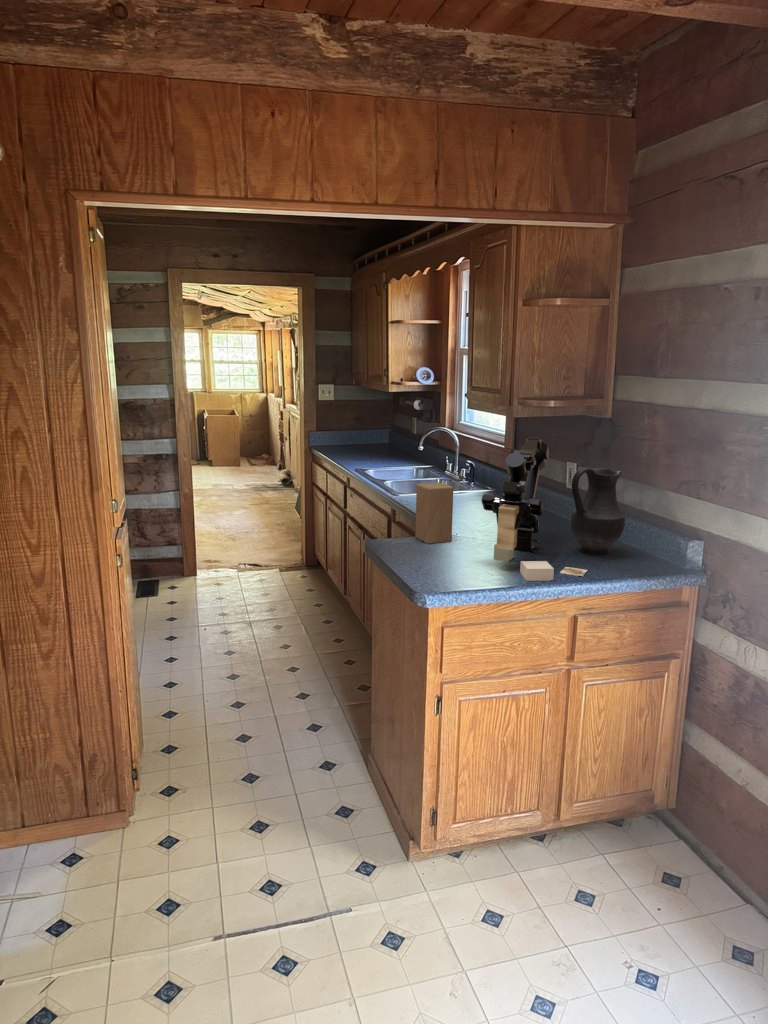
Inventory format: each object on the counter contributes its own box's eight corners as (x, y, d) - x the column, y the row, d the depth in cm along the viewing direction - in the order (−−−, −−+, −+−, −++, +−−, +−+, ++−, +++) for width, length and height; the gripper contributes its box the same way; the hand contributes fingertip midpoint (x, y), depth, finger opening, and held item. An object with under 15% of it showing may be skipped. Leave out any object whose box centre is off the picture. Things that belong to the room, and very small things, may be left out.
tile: (565, 567, 226) (565, 566, 226) (587, 571, 223) (587, 569, 223) (559, 573, 220) (559, 571, 220) (582, 577, 217) (582, 575, 217)
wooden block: (414, 537, 261) (416, 483, 257) (439, 535, 265) (440, 482, 261) (427, 544, 253) (428, 488, 248) (452, 541, 256) (454, 486, 252)
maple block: (500, 544, 226) (503, 504, 223) (516, 546, 224) (518, 505, 221) (496, 548, 222) (498, 507, 219) (512, 550, 220) (515, 509, 217)
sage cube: (498, 556, 239) (499, 541, 238) (513, 558, 237) (513, 543, 236) (493, 559, 235) (494, 544, 234) (508, 561, 233) (509, 546, 232)
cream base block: (520, 573, 221) (520, 561, 220) (545, 573, 221) (546, 561, 220) (526, 581, 213) (527, 568, 212) (553, 581, 214) (553, 568, 213)
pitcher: (632, 556, 241) (640, 467, 235) (587, 564, 231) (594, 472, 225) (594, 544, 256) (600, 461, 249) (550, 551, 246) (555, 464, 239)
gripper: (484, 468, 225) (473, 510, 218) (543, 473, 218) (534, 516, 210) (489, 488, 234) (479, 529, 226) (547, 494, 227) (538, 535, 219)
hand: (506, 527), depth 220 cm, fingers closed on maple block, 5 cm apart
